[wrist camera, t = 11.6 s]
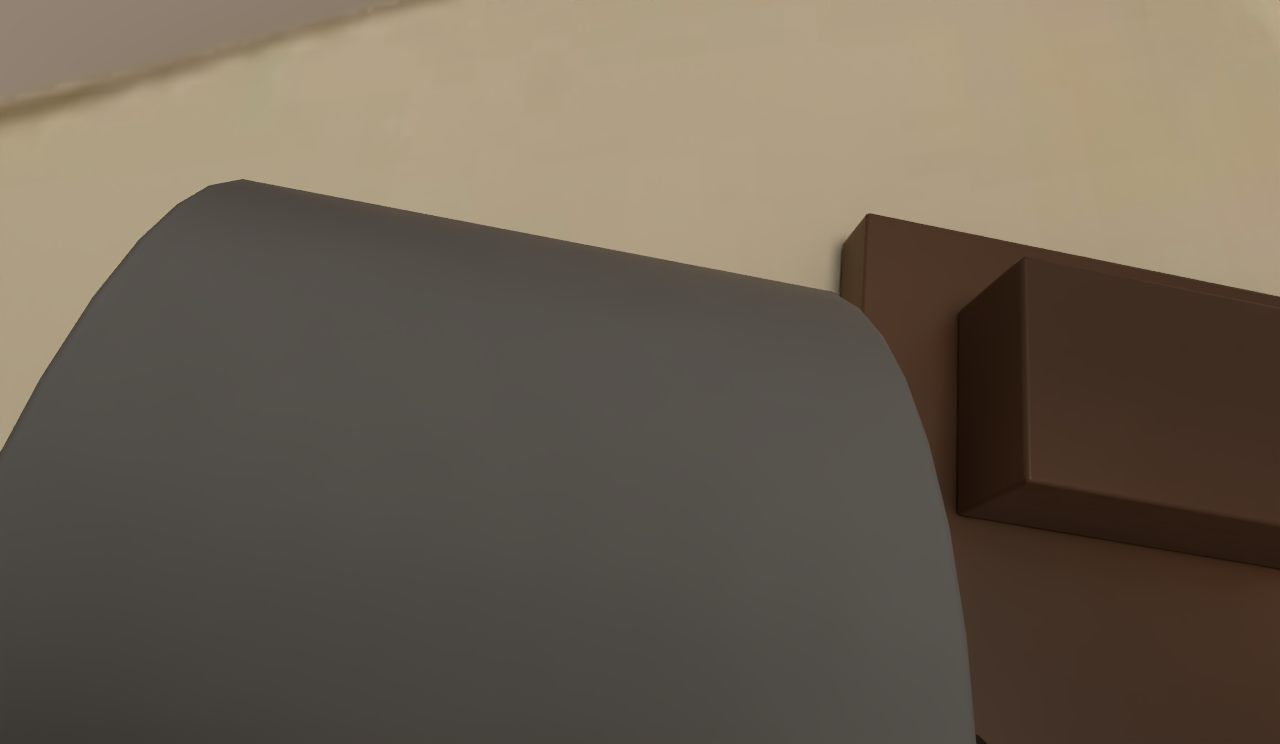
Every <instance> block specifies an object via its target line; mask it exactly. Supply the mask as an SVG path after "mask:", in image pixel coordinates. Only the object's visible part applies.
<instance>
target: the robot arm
mask: <svg viewBox="0 0 1280 744" xmlns="http://www.w3.org/2000/svg"><path fill="white" fill-rule="evenodd" d="M975 734H976V733H975ZM976 744H987V743H986V742H985V741H984V740H983V739H982V738H981V737H980V736H978V735H977V734H976Z"/></svg>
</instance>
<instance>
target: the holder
mask: <svg viewBox="0 0 1280 744" xmlns="http://www.w3.org/2000/svg"><path fill="white" fill-rule="evenodd" d="M841 298H843V299H845V300H846V301H848V302H850V303H852V304H853V305H855V306H856V307H858V308H859V309H860V310H861V311H862V312H863V313H864V314H865V316H866V317H867V318H868V319H869V320H870V321H871V323H872V324H873V325H874V326H875V327H876V329H877V330H878V331H879V332H880V333H881V334H882V336H883V337H884V339H885V341H886V343H887V345H888V346H889V348H890V350H891V352H892V354H893V356H894V358H895V360H896V361H897V363H898V365H899V367H900V369H901V371H902V373H903V374H904V376H905V378H906V380H907V383H908V386H909V389H910V391H911V394H912V397H913V400H914V403H915V405H916V408H917V411H918V414H919V417H920V419H921V422H922V425H923V428H924V430H925V433H926V436H927V439H928V442H929V445H930V449H931V454H932V458H933V462H934V466H935V470H936V474H937V478H938V482H939V486H940V490H941V495H942V499H943V503H944V507H945V511H946V515H947V519H948V523H949V528H950V534H951V540H952V546H953V553H954V559H955V565H956V572H957V578H958V584H959V591H960V597H961V603H962V609H963V616H964V622H965V628H966V635H967V646H968V657H969V668H970V679H971V690H972V701H973V712H974V723H975V733H976V734H977V735H978V736H980V737H981V738H982V739H983V740H984V741H985V742H986V743H987V744H1280V297H1278V296H1273V295H1269V294H1264V293H1259V292H1254V291H1249V290H1244V289H1239V288H1234V287H1229V286H1224V285H1219V284H1214V283H1209V282H1205V281H1200V280H1195V279H1190V278H1185V277H1180V276H1175V275H1170V274H1165V273H1160V272H1155V271H1150V270H1146V269H1141V268H1136V267H1131V266H1126V265H1121V264H1116V263H1111V262H1106V261H1101V260H1096V259H1091V258H1087V257H1082V256H1077V255H1072V254H1067V253H1062V252H1057V251H1052V250H1047V249H1042V248H1037V247H1032V246H1028V245H1023V244H1018V243H1013V242H1008V241H1003V240H998V239H993V238H988V237H983V236H978V235H973V234H968V233H964V232H959V231H954V230H949V229H944V228H939V227H934V226H929V225H924V224H919V223H914V222H909V221H905V220H900V219H895V218H890V217H885V216H880V215H875V214H866V216H865V217H864V218H863V220H862V221H861V222H860V223H859V225H858V226H857V227H856V228H855V230H854V231H853V232H852V234H851V235H850V236H849V237H848V239H847V240H846V241H845V242H844V244H843V263H842V282H841Z"/></svg>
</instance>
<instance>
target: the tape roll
mask: <svg viewBox="0 0 1280 744" xmlns="http://www.w3.org/2000/svg"><path fill="white" fill-rule="evenodd" d="M0 744H976V734H975V723H974V712H973V701H972V690H971V679H970V668H969V657H968V646H967V635H966V628H965V622H964V616H963V609H962V603H961V597H960V591H959V584H958V578H957V572H956V565H955V559H954V553H953V546H952V540H951V534H950V528H949V523H948V519H947V515H946V511H945V507H944V503H943V499H942V495H941V490H940V486H939V482H938V478H937V474H936V470H935V466H934V462H933V458H932V454H931V449H930V445H929V442H928V439H927V436H926V433H925V430H924V428H923V425H922V422H921V419H920V417H919V414H918V411H917V408H916V405H915V403H914V400H913V397H912V394H911V391H910V389H909V386H908V383H907V380H906V378H905V376H904V374H903V373H902V371H901V369H900V367H899V365H898V363H897V361H896V360H895V358H894V356H893V354H892V352H891V350H890V348H889V346H888V345H887V343H886V341H885V339H884V337H883V336H882V334H881V333H880V332H879V331H878V330H877V329H876V327H875V326H874V325H873V324H872V323H871V321H870V320H869V319H868V318H867V317H866V316H865V314H864V313H863V312H862V311H861V310H860V309H859V308H858V307H856V306H855V305H853V304H852V303H850V302H848V301H846V300H845V299H843V298H841V297H840V296H838V295H836V294H835V293H833V292H830V291H825V290H820V289H815V288H809V287H804V286H799V285H794V284H789V283H783V282H778V281H773V280H768V279H762V278H757V277H752V276H747V275H741V274H736V273H731V272H726V271H720V270H715V269H710V268H705V267H699V266H694V265H689V264H684V263H679V262H673V261H668V260H663V259H658V258H652V257H647V256H642V255H637V254H631V253H626V252H621V251H616V250H610V249H605V248H600V247H595V246H590V245H584V244H579V243H574V242H569V241H563V240H558V239H553V238H548V237H542V236H537V235H532V234H527V233H521V232H516V231H511V230H506V229H501V228H495V227H490V226H485V225H480V224H474V223H469V222H464V221H459V220H453V219H448V218H443V217H438V216H432V215H427V214H422V213H417V212H412V211H406V210H401V209H396V208H391V207H385V206H380V205H375V204H370V203H364V202H359V201H354V200H349V199H343V198H338V197H333V196H328V195H322V194H317V193H312V192H307V191H302V190H296V189H291V188H286V187H281V186H275V185H270V184H265V183H260V182H254V181H249V180H244V179H241V180H236V181H230V182H225V183H220V184H215V185H210V186H208V187H206V188H204V189H203V190H201V191H199V192H197V193H196V194H194V195H192V196H191V197H189V198H187V199H185V200H184V201H182V202H180V203H179V204H177V205H176V206H175V207H174V208H173V209H172V210H171V211H169V212H168V213H167V214H166V215H165V216H164V217H163V218H162V219H161V220H160V221H159V222H158V223H157V224H155V225H154V226H153V227H152V228H151V229H150V230H149V231H148V232H147V233H146V234H145V235H144V236H143V237H142V238H140V239H139V240H138V242H137V243H136V244H135V245H134V247H133V248H132V249H131V250H130V252H129V253H128V254H127V255H126V257H125V258H124V259H123V260H122V262H121V263H120V264H119V265H118V266H117V268H116V269H115V270H114V271H113V273H112V274H111V275H110V276H109V278H108V279H107V280H106V281H105V283H104V284H103V285H102V286H101V288H100V289H99V290H98V291H97V293H96V294H95V295H94V296H93V298H92V299H91V301H90V302H89V304H88V306H87V307H86V309H85V310H84V312H83V313H82V315H81V316H80V318H79V319H78V321H77V323H76V324H75V326H74V327H73V329H72V330H71V332H70V333H69V335H68V336H67V338H66V340H65V341H64V343H63V344H62V346H61V347H60V349H59V350H58V352H57V353H56V355H55V357H54V358H53V360H52V361H51V363H50V364H49V366H48V367H47V369H46V371H45V372H44V374H43V375H42V377H41V378H40V380H39V382H38V384H37V386H36V388H35V389H34V391H33V393H32V395H31V397H30V399H29V400H28V402H27V404H26V406H25V408H24V410H23V412H22V413H21V415H20V417H19V419H18V421H17V423H16V425H15V426H14V428H13V430H12V432H11V434H10V436H9V437H8V439H7V441H6V443H5V445H4V447H3V449H2V450H1V452H0Z"/></svg>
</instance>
